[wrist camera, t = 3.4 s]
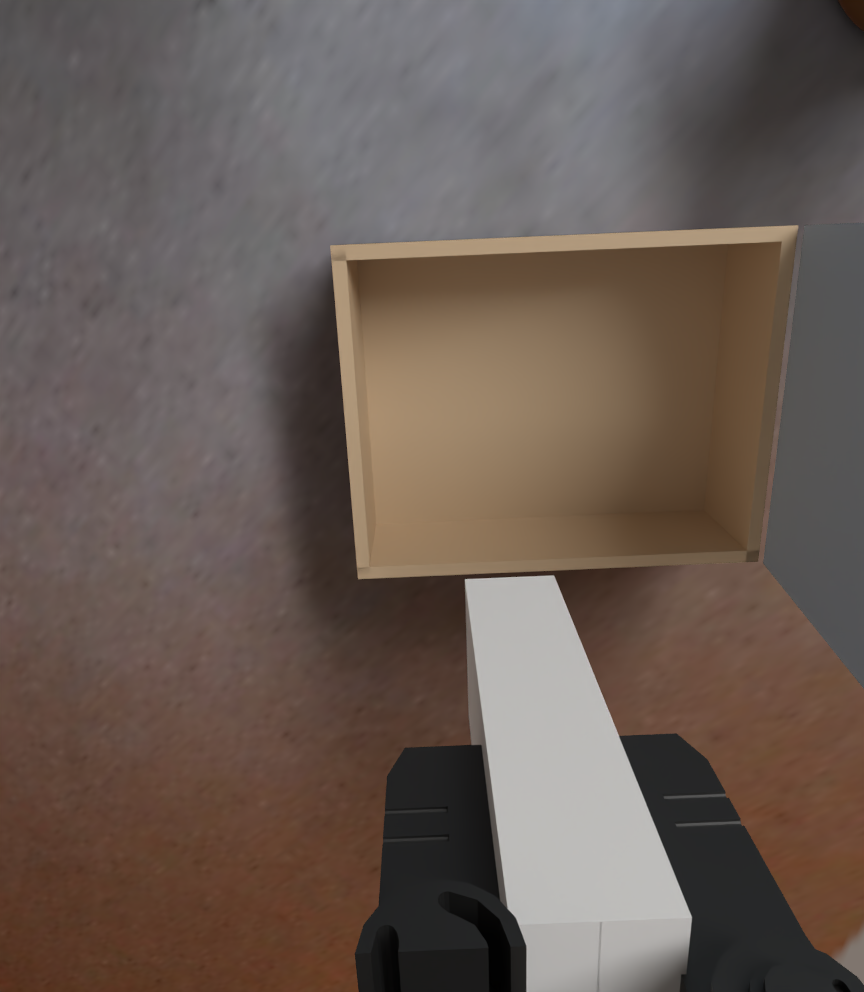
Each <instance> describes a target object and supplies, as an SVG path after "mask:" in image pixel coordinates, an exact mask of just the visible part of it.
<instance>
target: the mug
mask: <svg viewBox="0 0 864 992" xmlns="http://www.w3.org/2000/svg"><path fill="white" fill-rule="evenodd" d="M838 1H839V3H840V5H841V7H842V8H843V10H844V11H845V13H846V15H847V16H848V17H849V18H850V19H851V20H852V22H853V23H854V24H855V25H856V26H858V27H859V28H860V29H861V30H862V31H864V0H838Z"/></svg>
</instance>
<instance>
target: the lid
mask: <svg viewBox="0 0 864 992" xmlns="http://www.w3.org/2000/svg"><path fill="white" fill-rule="evenodd" d="M763 564H764V565H765V566H766V567H767V569H768V570H769V571H770V572H771V574H772V575H773V576H774V577H775V579H776V580H777V581H778V582H779V584H780V585H781V586H782V587H783V589H784V590H785V591H786V592H787V593H788V595H789V596H790V597H791V598H792V600H793V601H794V602H795V603H796V605H797V606H798V607H799V608H800V610H801V611H802V612H803V613H804V615H805V616H806V617H807V618H808V620H809V621H810V622H811V623H812V625H813V626H814V627H815V628H816V630H817V631H818V632H819V633H820V635H821V636H822V637H823V638H824V640H825V641H826V642H827V643H828V645H829V646H830V647H831V648H832V650H833V651H834V652H835V653H836V655H837V656H838V657H839V658H840V660H841V661H842V662H843V663H844V665H845V666H846V667H847V668H848V669H849V671H850V672H851V673H852V674H853V676H854V677H855V678H856V679H857V681H858V682H859V683H860V684H861V686H862V687H863V688H864V223H844V224H817V225H805V227H804V235H803V243H802V251H801V259H800V268H799V276H798V284H797V292H796V300H795V308H794V317H793V325H792V333H791V341H790V349H789V357H788V366H787V374H786V382H785V390H784V398H783V406H782V415H781V423H780V431H779V439H778V447H777V455H776V464H775V472H774V480H773V488H772V496H771V504H770V513H769V521H768V529H767V537H766V545H765V553H764V562H763Z"/></svg>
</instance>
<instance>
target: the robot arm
mask: <svg viewBox="0 0 864 992" xmlns="http://www.w3.org/2000/svg"><path fill="white" fill-rule="evenodd" d="M465 603H466V638H467V672H468V707H469V724H470V734H471V744H472V745H461V746H438V747H415V748H405V749H404V750H403V752H402V753H401V755H400V757H399V758H398V760H397V761H396V763H395V765H394V766H393V768H392V769H391V771H390V773H389V774H388V776H387V787H386V802H385V818H384V833H383V848H382V864H381V879H380V894H379V906H378V908H377V909H376V910H375V911H374V913H373V914H372V915H371V916H370V918H369V919H368V920H367V921H366V923H365V924H364V926H363V929H362V932H361V936H360V939H359V942H358V945H357V949H356V952H355V960H356V969H357V979H358V989H359V992H864V985H863V984H862V982H861V981H860V980H859V979H858V978H857V976H855V975H854V974H853V973H851V972H850V971H849V970H847V969H846V968H845V967H843V966H842V965H841V964H839V963H838V962H837V961H835V960H834V959H833V958H831V957H830V956H829V955H827V954H825V953H823V952H821V951H818V950H816V949H815V948H814V947H813V946H812V944H811V943H810V941H809V940H808V938H807V937H806V936H805V934H804V932H803V930H802V928H801V927H800V925H799V923H798V921H797V919H796V918H795V916H794V914H793V912H792V910H791V909H790V907H789V905H788V903H787V901H786V900H785V898H784V896H783V894H782V892H781V891H780V889H779V887H778V885H777V884H776V882H775V880H774V878H773V876H772V875H771V873H770V871H769V869H768V867H767V866H766V864H765V862H764V860H763V858H762V857H761V855H760V853H759V851H758V849H757V848H756V846H755V844H754V842H753V840H752V839H751V837H750V835H749V833H748V832H747V830H746V828H745V826H742V825H741V821H740V817H739V815H738V814H737V812H736V810H735V808H734V806H733V805H732V803H731V801H730V799H729V798H726V795H725V790H724V788H723V787H722V785H721V783H720V781H719V780H718V778H717V776H716V774H715V772H714V771H713V769H712V767H711V765H710V763H709V762H708V760H707V759H706V758H705V757H704V756H703V755H701V754H700V753H699V752H698V751H697V750H695V749H694V748H693V747H692V746H691V745H689V744H688V743H687V742H686V741H685V740H684V739H682V738H681V737H680V736H679V735H678V734H655V735H632V736H619V735H618V733H617V730H616V728H615V725H614V723H613V720H612V718H611V715H610V713H609V711H608V708H607V706H606V703H605V701H604V698H603V696H602V693H601V691H600V688H599V686H598V683H597V681H596V678H595V676H594V673H593V671H592V668H591V666H590V663H589V661H588V658H587V656H586V653H585V651H584V649H583V646H582V644H581V641H580V639H579V636H578V634H577V631H576V629H575V626H574V624H573V621H572V619H571V616H570V614H569V611H568V609H567V606H566V604H565V601H564V599H563V596H562V594H561V592H560V589H559V587H558V584H557V582H556V579H555V577H554V575H551V576H528V577H504V578H481V579H465Z"/></svg>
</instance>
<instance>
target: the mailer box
mask: <svg viewBox="0 0 864 992" xmlns="http://www.w3.org/2000/svg"><path fill="white" fill-rule="evenodd" d="M797 232H798V225H795V226H768V227H742V228H718V229H695V230H672V231H649V232H626V233H603V234H580V235H557V236H534V237H510V238H487V239H464V240H441V241H418V242H395V243H372V244H349V245H332V246H330V247H331V259H332V271H333V283H334V296H335V308H336V320H337V332H338V344H339V356H340V368H341V380H342V392H343V404H344V416H345V428H346V440H347V453H348V465H349V477H350V489H351V501H352V513H353V525H354V537H355V549H356V561H357V573H358V579H372V578H395V577H418V576H441V575H463V574H486V573H509V572H532V571H555V570H577V569H600V568H623V567H646V566H669V565H691V564H714V563H737V562H758V558H759V549H760V541H761V533H762V524H763V516H764V508H765V499H766V491H767V482H768V474H769V466H770V457H771V449H772V441H773V432H774V424H775V416H776V407H777V399H778V391H779V382H780V374H781V366H782V357H783V349H784V340H785V332H786V324H787V315H788V307H789V299H790V290H791V282H792V274H793V265H794V257H795V249H796V240H797Z"/></svg>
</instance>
